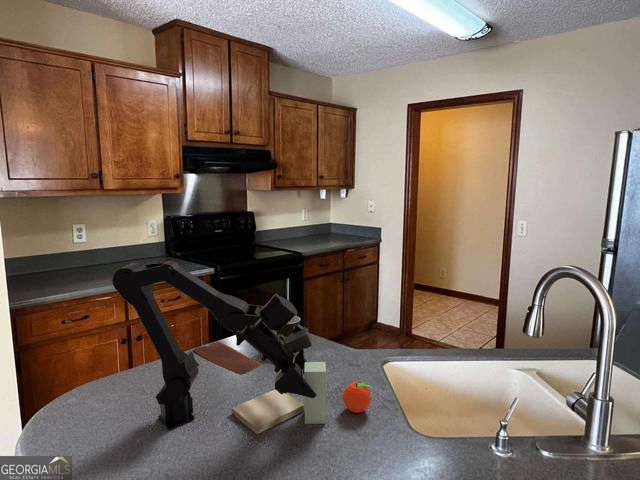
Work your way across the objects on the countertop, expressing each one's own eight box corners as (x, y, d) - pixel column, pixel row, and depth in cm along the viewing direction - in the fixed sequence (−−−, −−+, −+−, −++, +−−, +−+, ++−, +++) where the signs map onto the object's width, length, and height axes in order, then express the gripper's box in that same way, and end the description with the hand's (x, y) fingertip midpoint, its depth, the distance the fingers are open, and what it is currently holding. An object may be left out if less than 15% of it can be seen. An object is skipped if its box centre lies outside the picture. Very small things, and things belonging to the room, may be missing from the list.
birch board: (257, 434, 91) (257, 428, 91) (232, 413, 99) (231, 407, 99) (304, 410, 101) (304, 404, 100) (278, 393, 109) (277, 388, 109)
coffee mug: (285, 355, 132) (285, 325, 131) (270, 347, 139) (269, 319, 137) (312, 345, 140) (312, 317, 139) (296, 338, 147) (296, 311, 145)
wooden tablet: (190, 352, 136) (190, 347, 136) (216, 343, 143) (216, 339, 143) (238, 378, 118) (237, 373, 118) (264, 367, 125) (264, 361, 125)
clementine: (370, 401, 105) (370, 375, 104) (378, 416, 98) (378, 389, 97) (340, 404, 104) (340, 377, 103) (346, 419, 97) (346, 392, 96)
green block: (304, 423, 95) (304, 371, 93) (305, 411, 100) (304, 362, 98) (326, 423, 95) (326, 371, 93) (325, 411, 100) (325, 361, 98)
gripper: (289, 334, 85) (341, 383, 87) (293, 306, 103) (336, 347, 105) (252, 370, 86) (305, 417, 88) (262, 336, 104) (306, 376, 106)
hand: (315, 386), depth 97 cm, fingers open, 9 cm apart
